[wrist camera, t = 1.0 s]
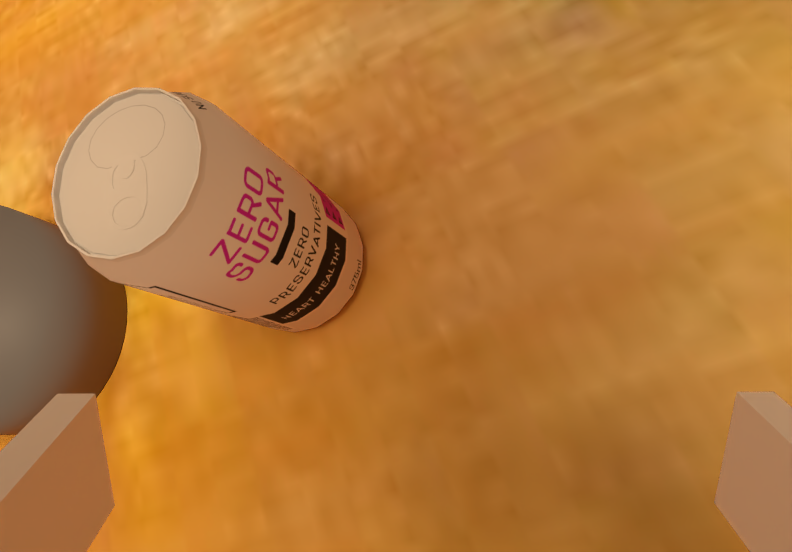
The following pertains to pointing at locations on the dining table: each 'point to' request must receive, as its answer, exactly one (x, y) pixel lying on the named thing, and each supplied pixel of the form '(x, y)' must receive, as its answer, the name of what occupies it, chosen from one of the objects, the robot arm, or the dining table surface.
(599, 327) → the dining table surface
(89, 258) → the supplement can
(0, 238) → the grey disc
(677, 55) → the dining table surface
